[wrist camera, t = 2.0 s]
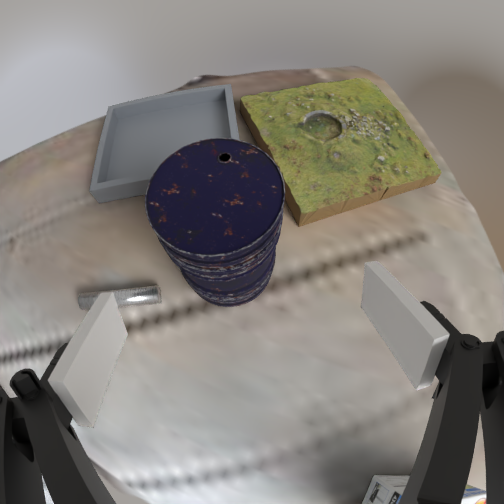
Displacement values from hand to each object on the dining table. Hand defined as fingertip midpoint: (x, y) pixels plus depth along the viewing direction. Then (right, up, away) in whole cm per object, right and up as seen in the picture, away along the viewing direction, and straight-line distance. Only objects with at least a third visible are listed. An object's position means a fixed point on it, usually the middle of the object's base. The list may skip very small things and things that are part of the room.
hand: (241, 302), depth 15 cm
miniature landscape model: (+13, +18, +27) cm, 35 cm away
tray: (-12, +18, +26) cm, 34 cm away
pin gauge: (-14, -3, +17) cm, 23 cm away
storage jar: (-2, +1, +19) cm, 19 cm away
